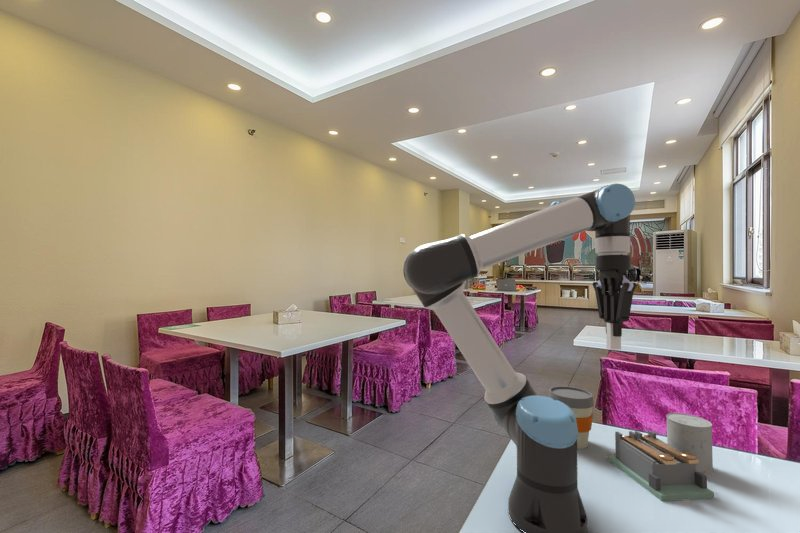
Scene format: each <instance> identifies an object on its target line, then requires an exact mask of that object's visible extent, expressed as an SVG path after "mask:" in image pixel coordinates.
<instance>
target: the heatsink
mask: <svg viewBox="0 0 800 533" xmlns="http://www.w3.org/2000/svg"><path fill="white" fill-rule="evenodd" d="M647 431H648V432H647V435H650V436H651V437H652V438H654V439H656V440H658V441H660V442H662V443H665V444H667V442H665V441H663V440H661V439H659V438H657V433H656V432H655V431H653V430H647ZM614 434H615V435H614V437H615V444H614V445H615V454H607V461H609V462H610V463H611V464H612V465H614V466H615V467H616V468H618V469H620V470H621V471H622V472H623V474H626V476H628V477H629V478H631V479H632V480H634V481H635V482H636V483H637V484H639V485H640V486H641V487H642V488H644V489H645V490H646V491H648V492H649V493H651V495H653V496H654V497H655V498H657V499H658V500H659V501H661V502H662V501H681V500H703V499H715V492H714V491H712V490H710V489H709V488H708V476H706V475H704V474H702V473H700V472H696V464H688V463H686V462H684V461H682V460H680V459H678V458H676V457H674V456H673V459H674V460H676V464H674V465H666V464H664V463H662V462H660V461H658V460H657V459H655V458H653V457H651V456H649V455H648V454H646V453H644V452H642V451H640V450H638V449H637V448H635V447H633V446H632V445H630V444H629V443H627V442H626V441H624V440H623V436H624V435H623V434H622V432H619V431H615V432H614ZM642 435H643V433H642V432H640V431H638V430H634V431H632V430H629V431H628V436H631V437H632V438H633V439H635V440H637V441H639V442H641V443H643V444H645V445H647V446H649V447H651V448H653V449H654V450H656V451H658V452H660V453H666V452H665V451H663V450H661V449H659V448H657V447H655V446H653V445H651V444H649V443H647V442H645V441H643V440H642ZM667 445H668V444H667ZM669 446H670V445H669ZM671 447H672V446H671ZM673 448H674V447H673ZM675 449H676V448H675ZM666 454H668V453H666ZM669 455H670V454H669Z"/></svg>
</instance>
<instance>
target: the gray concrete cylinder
mask: <svg viewBox="0 0 800 533" xmlns="http://www.w3.org/2000/svg"><path fill="white" fill-rule="evenodd" d="M665 417H666V443H667V444H668V445H670V446H672V447H674V448H676V449H677V450H679V451H681V452H687V453H691V454H693V455H695V456H696V459H698V460H699V463H697V464H696V472H700V473H702V474H704V475H706V476H707V477H711V476H712V475H714V470H713V469H714V468H713V467H714V466H713V459H714V458H713V423H712V422H711V421H709V420H707V419H705V418H703V417H701V416H696V415H692V414H688V413H681V412H670V413H667V414H666V415H665Z"/></svg>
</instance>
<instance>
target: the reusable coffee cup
mask: <svg viewBox="0 0 800 533" xmlns="http://www.w3.org/2000/svg"><path fill="white" fill-rule="evenodd" d="M548 397H549V398H553V400H558V401H560V402H562V403H564V404H566V405H567V406H568V407H569V408H570V409H571V410H572V411H573V412H574V414H575V416H576V421H577V427H578V438H577V450H579V449H581V450H583V449H586V448H588V443H589V435H590V432H591V430H592V423H593V417H594V413H593V407H594V405H595V402H594V395H593V393H592V392H590V391H588V390H587V389H582V388H579V387H576V386H575V387H574V386H566V385H564V386H563V385H559V386H556V385H555V386H552V387H550V388H549V390H548Z"/></svg>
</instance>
